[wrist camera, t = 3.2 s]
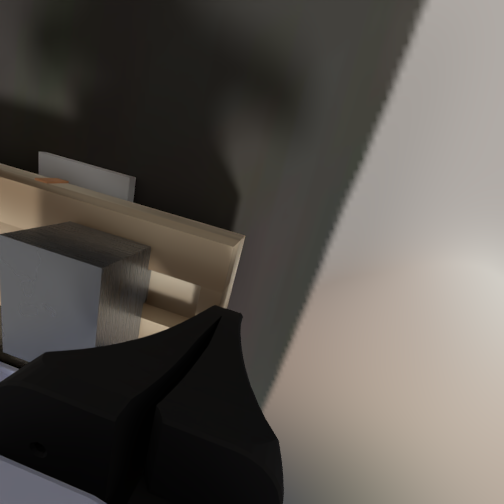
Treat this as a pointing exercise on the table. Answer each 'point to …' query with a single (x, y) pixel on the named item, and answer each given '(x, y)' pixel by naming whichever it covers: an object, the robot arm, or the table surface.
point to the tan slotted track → (128, 233)
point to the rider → (70, 289)
